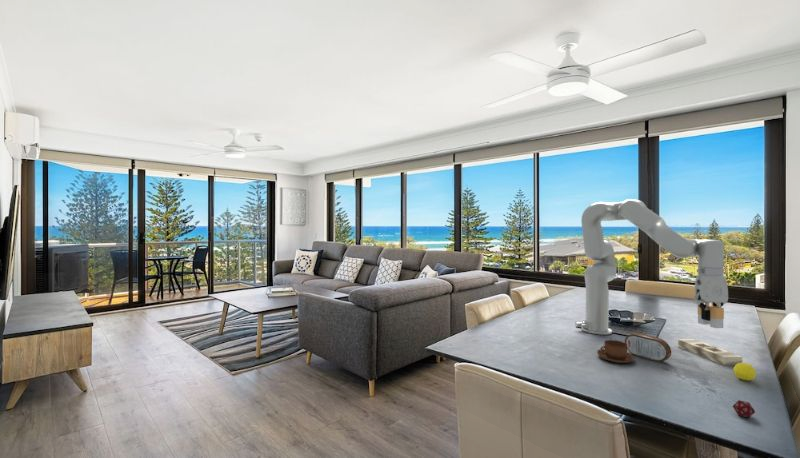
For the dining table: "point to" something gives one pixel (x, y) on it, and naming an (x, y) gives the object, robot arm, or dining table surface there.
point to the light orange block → (713, 317)
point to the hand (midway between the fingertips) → (710, 319)
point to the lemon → (744, 371)
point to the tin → (648, 347)
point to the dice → (743, 409)
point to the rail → (709, 352)
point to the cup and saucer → (615, 352)
